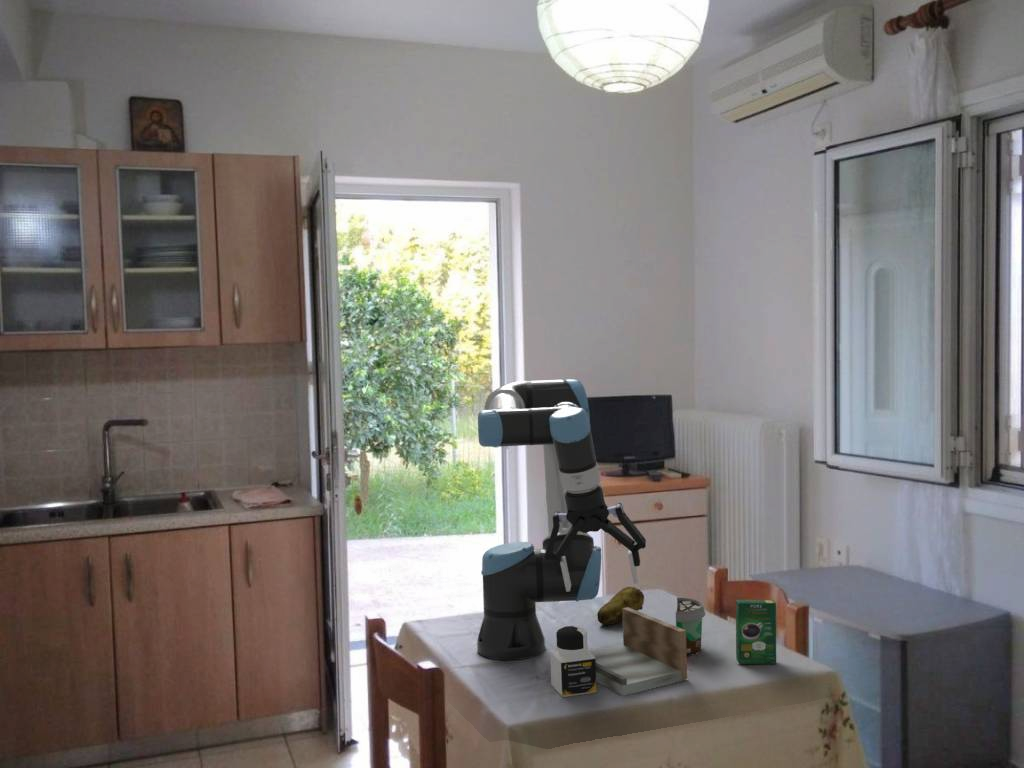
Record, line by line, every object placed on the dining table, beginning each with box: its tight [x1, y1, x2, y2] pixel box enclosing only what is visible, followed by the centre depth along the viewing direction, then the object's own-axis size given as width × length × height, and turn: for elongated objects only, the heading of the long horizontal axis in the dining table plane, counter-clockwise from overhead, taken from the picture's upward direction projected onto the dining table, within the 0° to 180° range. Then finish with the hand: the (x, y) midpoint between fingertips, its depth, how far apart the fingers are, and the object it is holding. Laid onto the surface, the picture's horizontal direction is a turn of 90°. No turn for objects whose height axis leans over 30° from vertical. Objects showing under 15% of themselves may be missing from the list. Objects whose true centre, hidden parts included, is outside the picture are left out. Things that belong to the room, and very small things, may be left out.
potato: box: [596, 586, 645, 626], centre depth 227 cm, size 8×13×8 cm, turn 105°
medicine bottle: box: [549, 625, 597, 698], centre depth 184 cm, size 7×7×12 cm
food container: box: [675, 596, 706, 656], centre depth 205 cm, size 12×6×10 cm, turn 168°
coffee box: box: [735, 599, 777, 665], centre depth 195 cm, size 8×3×13 cm, turn 86°
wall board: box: [589, 607, 688, 697], centre depth 192 cm, size 20×16×10 cm
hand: (602, 584), depth 188 cm, fingers open, 13 cm apart
